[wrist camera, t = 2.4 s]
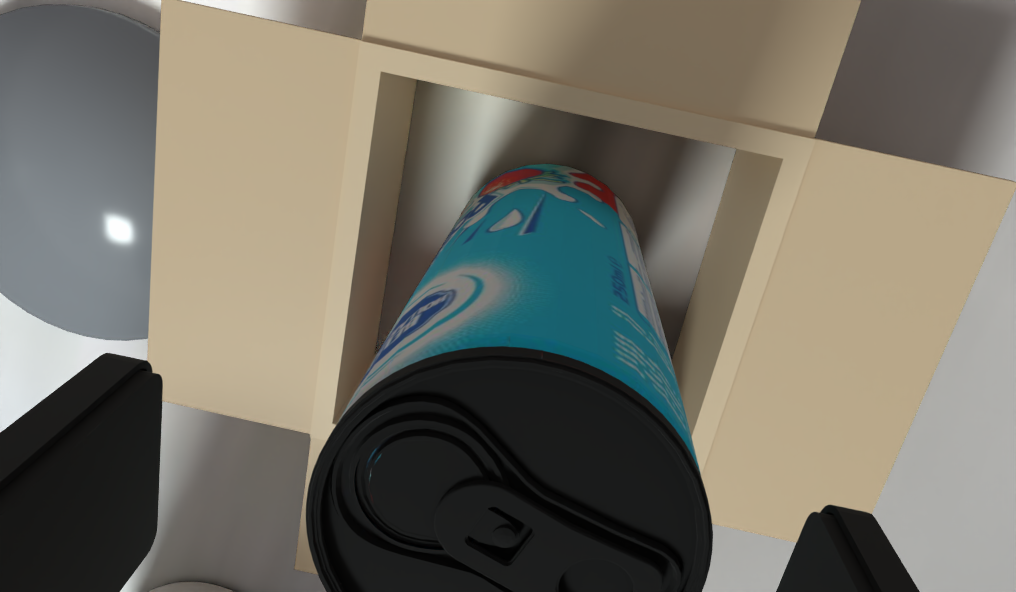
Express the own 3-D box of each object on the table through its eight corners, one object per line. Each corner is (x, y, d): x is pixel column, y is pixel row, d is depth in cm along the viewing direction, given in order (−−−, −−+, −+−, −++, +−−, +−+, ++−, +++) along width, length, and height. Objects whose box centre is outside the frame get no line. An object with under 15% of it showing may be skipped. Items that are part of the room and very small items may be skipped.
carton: (1002, -28, 21) (1121, -40, 17) (762, 577, 29) (798, 686, 24) (256, -187, 22) (167, -244, 17) (208, 453, 29) (138, 537, 24)
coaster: (274, 46, 24) (267, 46, 23) (246, 363, 28) (239, 370, 27) (-72, -30, 24) (-88, -31, 23) (-53, 296, 28) (-66, 302, 27)
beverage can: (542, 118, 24) (489, 265, 10) (675, 247, 25) (803, 549, 11) (418, 251, 26) (224, 537, 12) (548, 366, 27) (514, 757, 13)
